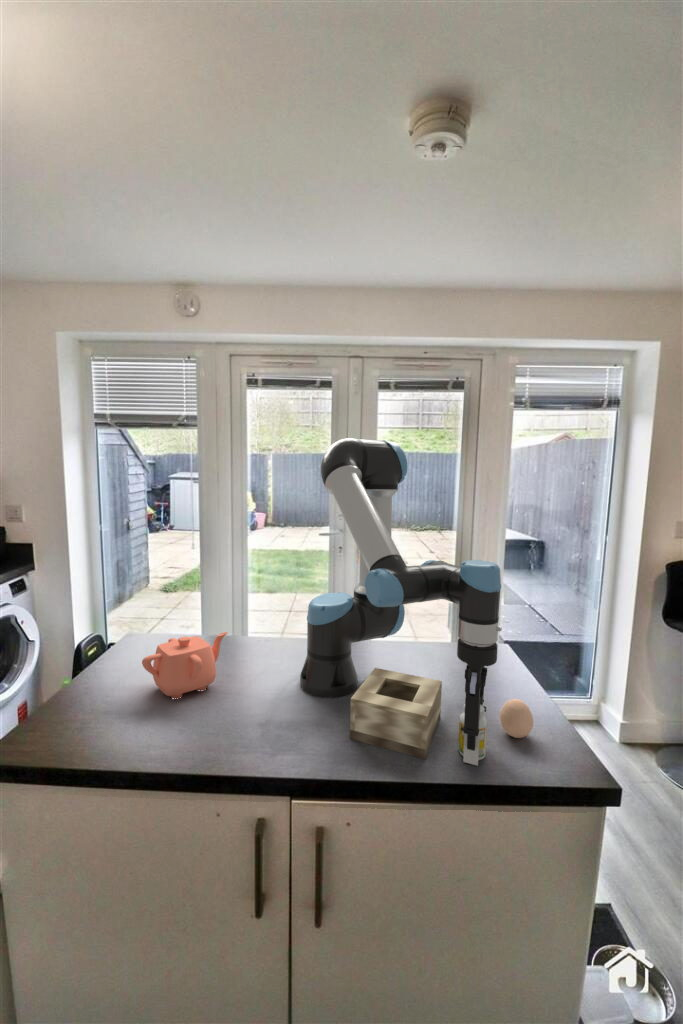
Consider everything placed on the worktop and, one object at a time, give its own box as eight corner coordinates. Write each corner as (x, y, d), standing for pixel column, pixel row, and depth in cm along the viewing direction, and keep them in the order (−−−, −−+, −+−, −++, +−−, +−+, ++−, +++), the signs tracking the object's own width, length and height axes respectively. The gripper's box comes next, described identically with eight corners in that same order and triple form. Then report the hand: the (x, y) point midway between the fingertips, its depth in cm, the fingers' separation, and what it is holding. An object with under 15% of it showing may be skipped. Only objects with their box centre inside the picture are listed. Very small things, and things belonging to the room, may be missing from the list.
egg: (515, 748, 88) (517, 711, 88) (492, 730, 94) (494, 695, 94) (539, 740, 91) (541, 704, 90) (515, 724, 97) (517, 690, 96)
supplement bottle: (479, 765, 83) (481, 717, 82) (453, 753, 86) (455, 707, 85) (489, 751, 87) (492, 706, 86) (464, 741, 90) (466, 697, 90)
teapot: (139, 702, 103) (138, 649, 102) (167, 672, 118) (167, 626, 117) (209, 705, 102) (209, 651, 101) (228, 674, 118) (228, 628, 117)
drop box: (349, 738, 90) (350, 698, 90) (374, 702, 105) (375, 667, 104) (425, 759, 84) (427, 716, 83) (440, 718, 99) (441, 681, 98)
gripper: (494, 662, 74) (488, 789, 76) (500, 627, 92) (495, 730, 94) (450, 654, 77) (445, 777, 79) (463, 622, 95) (459, 722, 97)
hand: (472, 751), depth 86 cm, fingers open, 6 cm apart
